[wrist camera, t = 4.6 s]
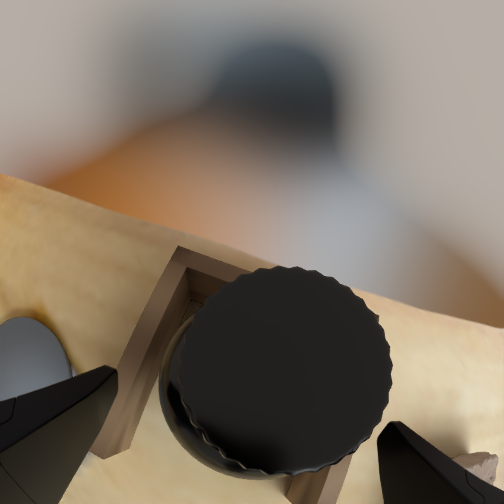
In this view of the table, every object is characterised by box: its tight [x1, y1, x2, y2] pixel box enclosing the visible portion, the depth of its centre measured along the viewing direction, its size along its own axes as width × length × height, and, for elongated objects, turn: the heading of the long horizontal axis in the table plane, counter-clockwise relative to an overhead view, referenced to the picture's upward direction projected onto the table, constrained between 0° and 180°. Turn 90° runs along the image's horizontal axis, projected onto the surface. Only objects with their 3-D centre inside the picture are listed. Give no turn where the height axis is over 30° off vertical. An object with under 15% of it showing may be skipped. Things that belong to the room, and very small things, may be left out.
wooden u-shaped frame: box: [89, 246, 379, 504], centre depth 13 cm, size 12×12×4 cm
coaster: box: [0, 317, 72, 401], centre depth 12 cm, size 9×9×1 cm
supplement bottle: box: [159, 266, 393, 480], centre depth 10 cm, size 7×7×12 cm
